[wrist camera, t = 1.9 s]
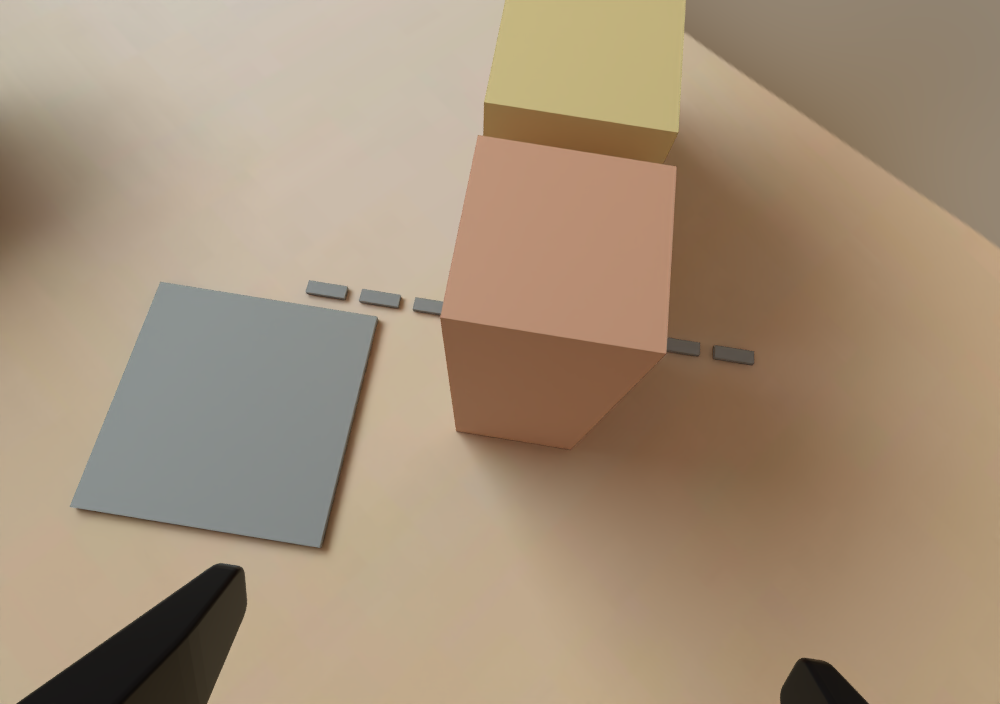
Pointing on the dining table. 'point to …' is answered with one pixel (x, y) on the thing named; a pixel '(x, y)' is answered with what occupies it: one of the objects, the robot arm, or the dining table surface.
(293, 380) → the coaster
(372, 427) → the dining table surface
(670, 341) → the perforation marks
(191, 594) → the robot arm
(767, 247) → the dining table surface
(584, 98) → the block
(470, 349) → the stub
